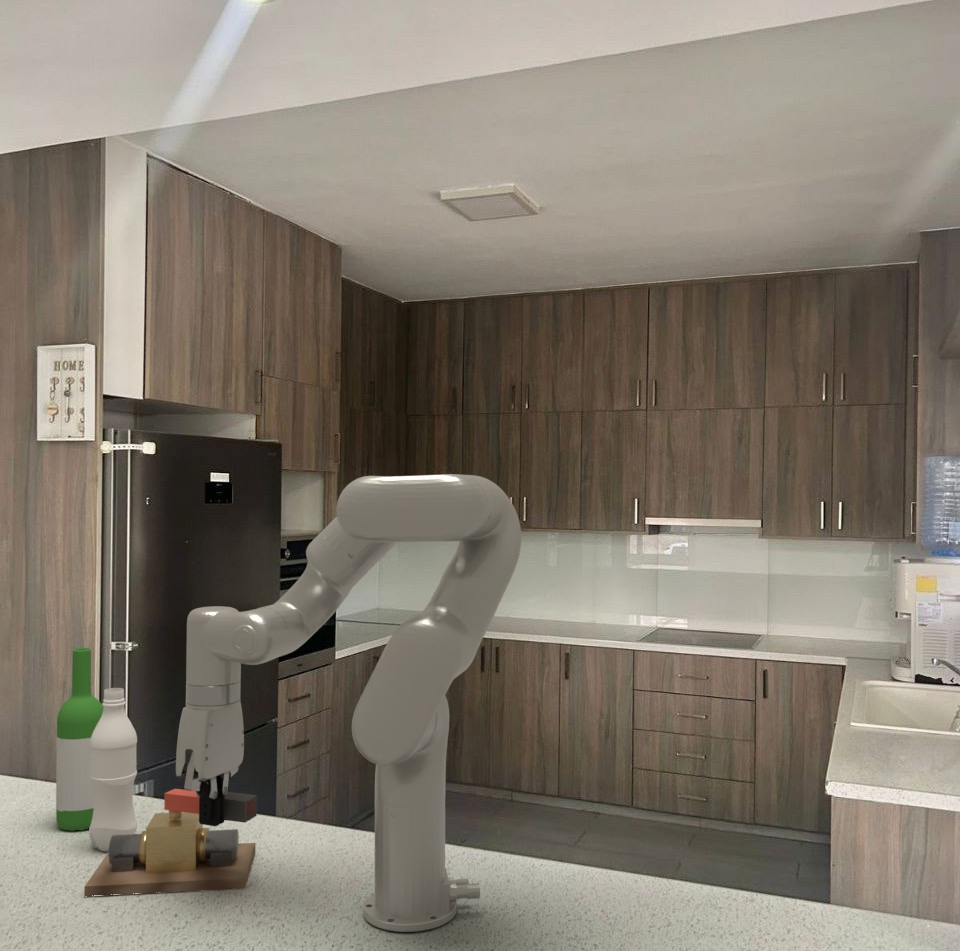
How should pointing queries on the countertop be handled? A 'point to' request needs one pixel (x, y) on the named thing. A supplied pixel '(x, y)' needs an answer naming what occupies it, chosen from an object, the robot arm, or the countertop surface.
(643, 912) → the countertop surface
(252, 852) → the mounting board
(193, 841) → the ball valve
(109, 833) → the water bottle
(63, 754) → the wine bottle
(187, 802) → the valve lever
